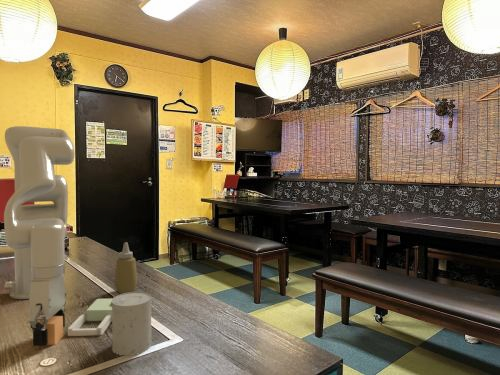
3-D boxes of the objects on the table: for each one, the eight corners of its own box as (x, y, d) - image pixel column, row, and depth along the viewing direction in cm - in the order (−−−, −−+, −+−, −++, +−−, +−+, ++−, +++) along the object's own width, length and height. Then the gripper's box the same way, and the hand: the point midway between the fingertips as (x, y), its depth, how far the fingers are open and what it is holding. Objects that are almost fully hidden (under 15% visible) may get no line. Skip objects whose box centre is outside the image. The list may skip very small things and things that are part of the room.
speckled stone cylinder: (118, 337, 93) (117, 292, 92) (154, 336, 93) (154, 291, 93) (106, 356, 83) (106, 306, 82) (147, 355, 84) (147, 305, 83)
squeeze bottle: (130, 296, 121) (129, 245, 120) (109, 294, 123) (109, 244, 122) (142, 288, 129) (141, 241, 128) (122, 286, 131) (121, 239, 130)
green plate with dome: (67, 336, 93) (67, 322, 93) (92, 308, 111) (92, 297, 110) (126, 334, 94) (126, 320, 94) (141, 307, 112) (141, 296, 112)
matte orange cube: (36, 345, 88) (35, 324, 88) (45, 336, 93) (44, 316, 92) (54, 344, 88) (54, 323, 88) (63, 335, 93) (62, 316, 93)
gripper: (49, 261, 98) (51, 321, 99) (12, 282, 80) (15, 354, 82) (77, 261, 98) (78, 320, 99) (46, 281, 81) (48, 353, 82)
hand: (49, 335), depth 90 cm, fingers open, 8 cm apart
